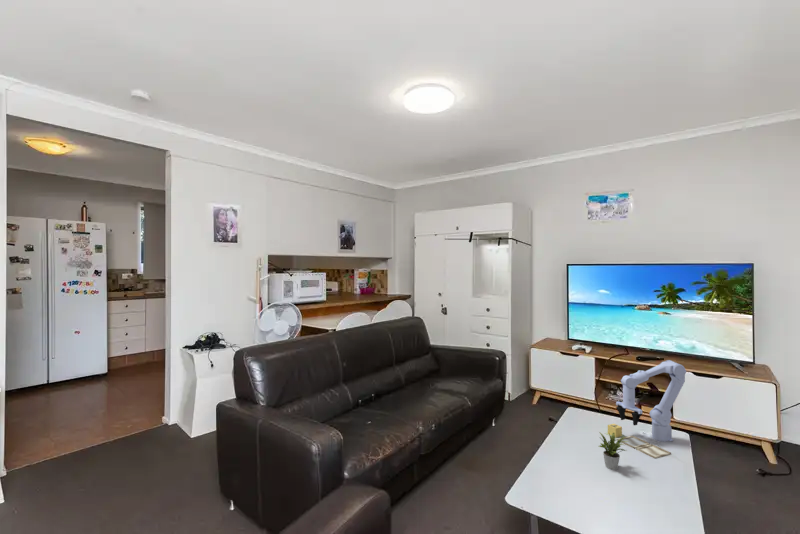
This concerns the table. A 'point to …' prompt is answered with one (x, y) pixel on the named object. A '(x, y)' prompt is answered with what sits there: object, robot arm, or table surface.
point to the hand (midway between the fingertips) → (628, 422)
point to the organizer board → (644, 446)
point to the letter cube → (615, 430)
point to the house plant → (611, 451)
